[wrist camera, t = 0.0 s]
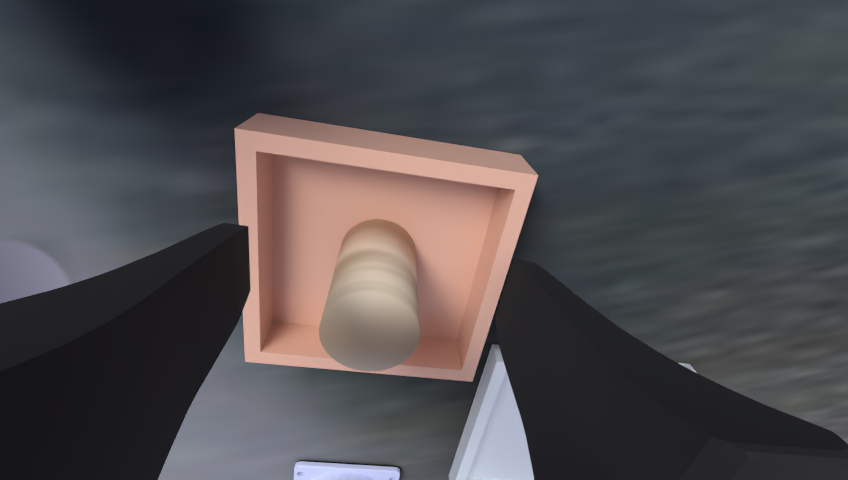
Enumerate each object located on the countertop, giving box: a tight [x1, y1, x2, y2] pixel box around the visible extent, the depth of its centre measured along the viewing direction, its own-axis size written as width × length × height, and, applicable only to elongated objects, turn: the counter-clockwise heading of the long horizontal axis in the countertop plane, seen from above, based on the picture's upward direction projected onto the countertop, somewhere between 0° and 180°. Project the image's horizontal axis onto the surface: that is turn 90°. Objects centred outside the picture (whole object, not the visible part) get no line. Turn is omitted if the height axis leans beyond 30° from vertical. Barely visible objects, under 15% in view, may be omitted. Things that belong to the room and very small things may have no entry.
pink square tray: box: [234, 113, 538, 382], centre depth 21 cm, size 13×13×3 cm
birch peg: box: [319, 219, 420, 371], centre depth 19 cm, size 4×4×6 cm
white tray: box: [449, 344, 697, 480], centre depth 30 cm, size 14×14×2 cm
